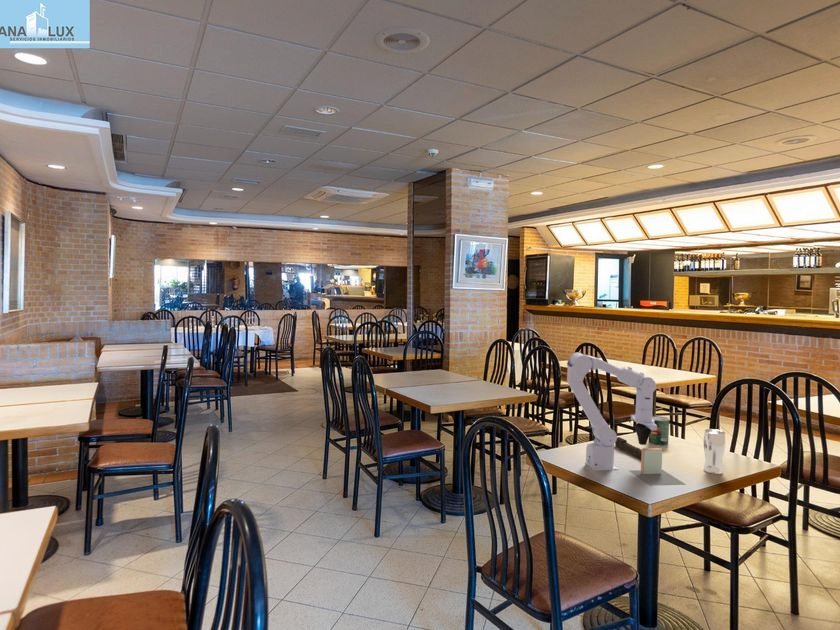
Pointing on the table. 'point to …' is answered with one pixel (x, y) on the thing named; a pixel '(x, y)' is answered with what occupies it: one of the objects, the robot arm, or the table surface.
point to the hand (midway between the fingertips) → (642, 444)
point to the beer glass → (714, 450)
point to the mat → (658, 478)
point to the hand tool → (628, 447)
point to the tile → (651, 461)
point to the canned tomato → (660, 431)
